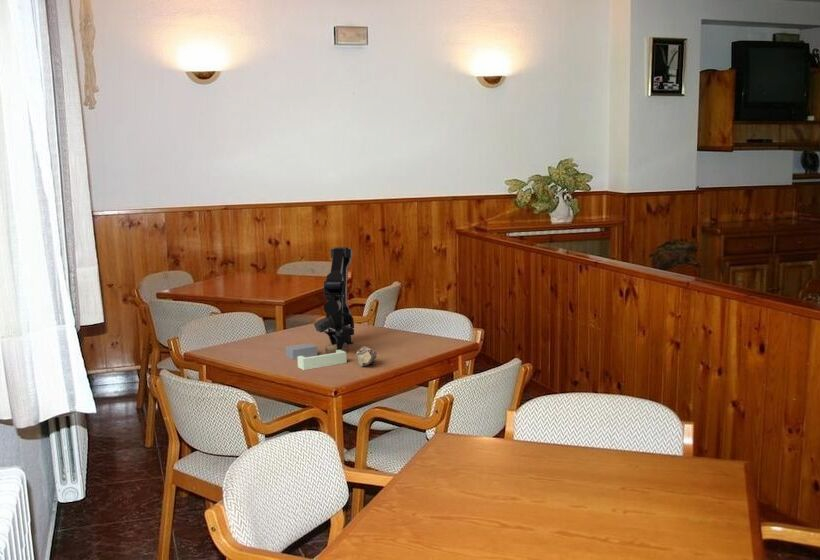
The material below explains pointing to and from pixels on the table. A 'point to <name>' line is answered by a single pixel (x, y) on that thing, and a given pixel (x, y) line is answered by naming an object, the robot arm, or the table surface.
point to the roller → (335, 348)
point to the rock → (366, 356)
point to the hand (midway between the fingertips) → (336, 350)
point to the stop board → (322, 360)
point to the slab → (301, 351)
